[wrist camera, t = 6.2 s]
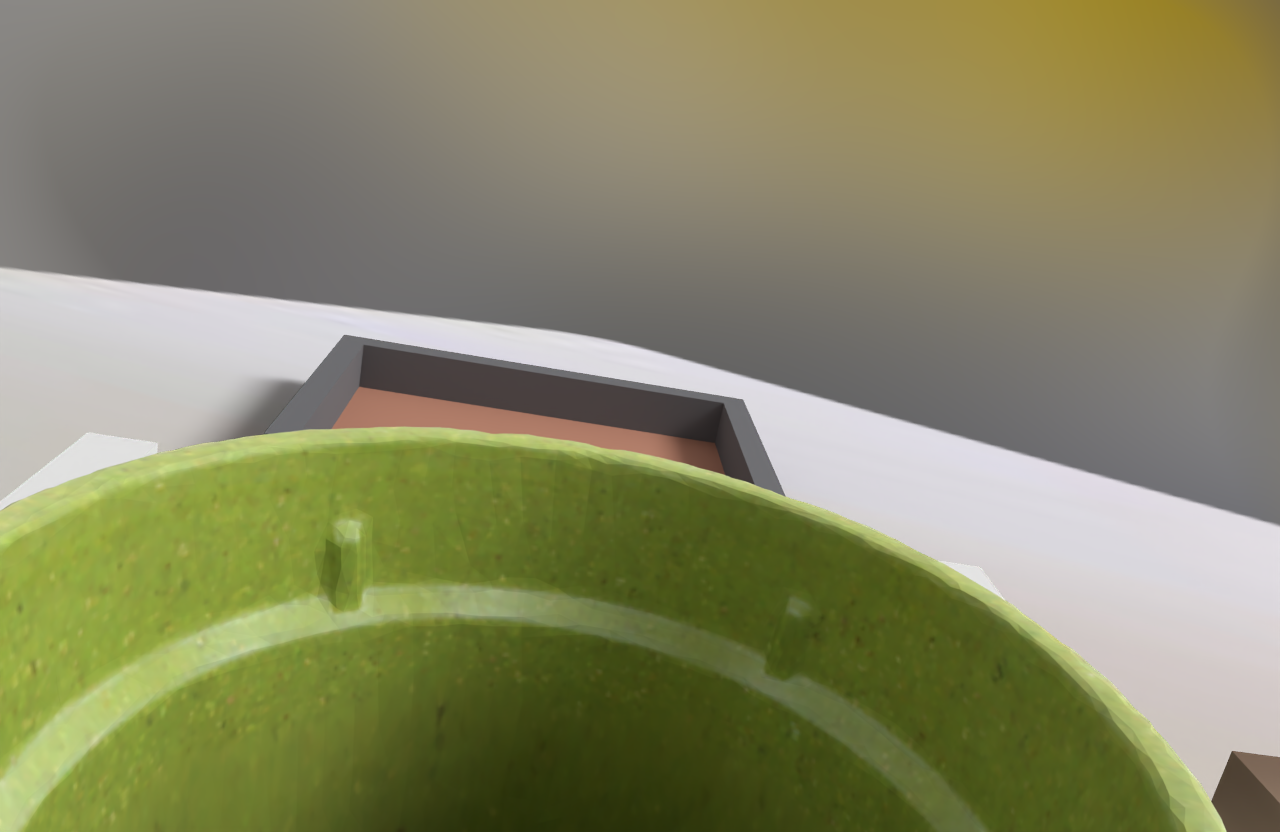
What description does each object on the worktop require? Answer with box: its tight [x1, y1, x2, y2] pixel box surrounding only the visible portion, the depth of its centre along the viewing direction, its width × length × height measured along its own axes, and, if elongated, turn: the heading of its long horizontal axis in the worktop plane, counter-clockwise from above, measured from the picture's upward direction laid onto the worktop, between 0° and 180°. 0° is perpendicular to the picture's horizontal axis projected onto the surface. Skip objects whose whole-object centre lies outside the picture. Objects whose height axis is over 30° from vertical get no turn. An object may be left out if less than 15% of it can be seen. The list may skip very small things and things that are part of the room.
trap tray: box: [264, 335, 786, 497], centre depth 34 cm, size 10×14×2 cm
